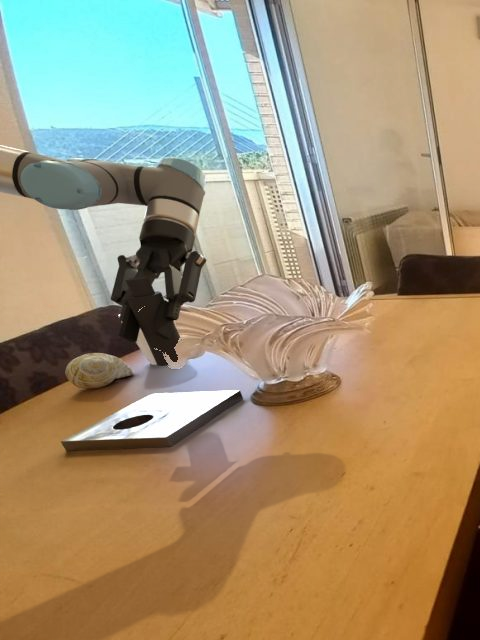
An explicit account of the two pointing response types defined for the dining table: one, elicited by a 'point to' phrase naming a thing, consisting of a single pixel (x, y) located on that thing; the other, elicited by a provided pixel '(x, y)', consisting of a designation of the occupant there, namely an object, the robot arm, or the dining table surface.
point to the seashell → (96, 370)
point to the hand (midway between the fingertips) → (145, 337)
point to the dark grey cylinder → (151, 318)
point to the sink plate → (154, 421)
